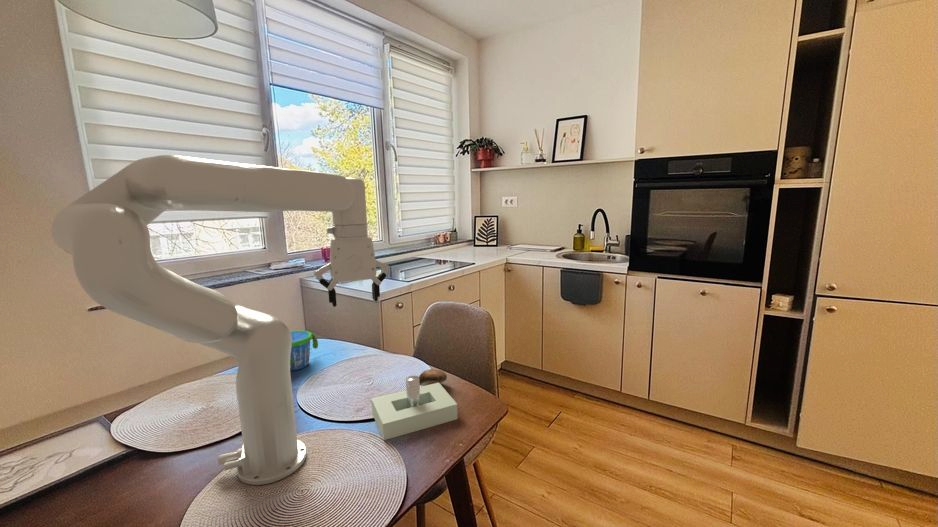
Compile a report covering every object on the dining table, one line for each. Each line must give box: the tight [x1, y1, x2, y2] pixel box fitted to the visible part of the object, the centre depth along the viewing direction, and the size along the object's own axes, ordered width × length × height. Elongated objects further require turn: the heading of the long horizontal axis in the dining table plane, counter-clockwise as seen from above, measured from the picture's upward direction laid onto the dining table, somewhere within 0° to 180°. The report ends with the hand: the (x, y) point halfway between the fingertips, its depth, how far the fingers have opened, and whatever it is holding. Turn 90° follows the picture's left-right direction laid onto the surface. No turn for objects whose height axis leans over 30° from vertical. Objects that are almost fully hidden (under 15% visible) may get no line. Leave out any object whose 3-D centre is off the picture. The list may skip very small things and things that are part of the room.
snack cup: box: [290, 329, 319, 371], centre depth 121 cm, size 16×10×10 cm
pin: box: [405, 375, 421, 408], centre depth 93 cm, size 3×3×10 cm
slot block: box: [371, 383, 458, 441], centre depth 94 cm, size 18×12×4 cm, turn 116°
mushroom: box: [418, 368, 448, 387], centre depth 107 cm, size 8×8×6 cm
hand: (355, 302), depth 92 cm, fingers open, 9 cm apart
